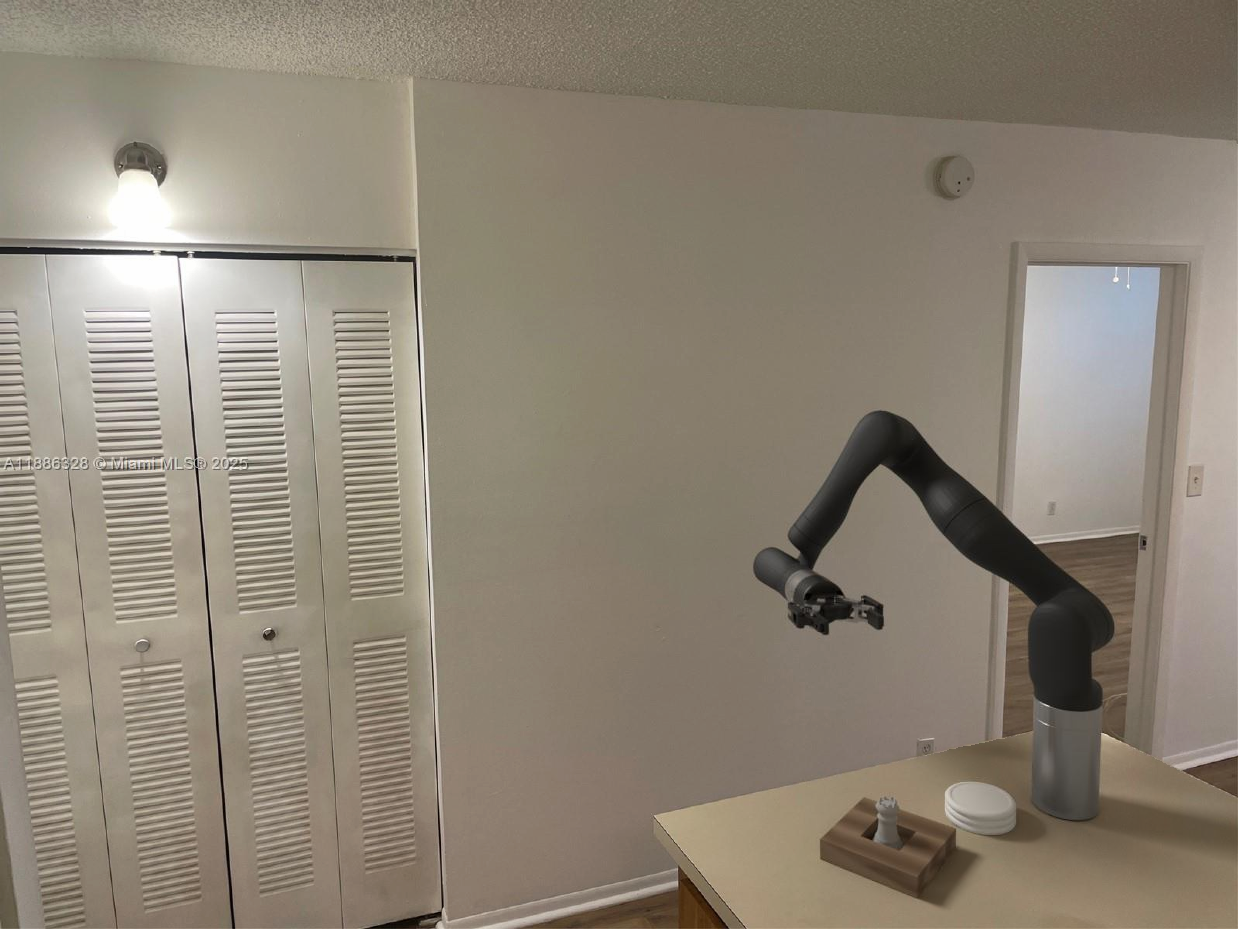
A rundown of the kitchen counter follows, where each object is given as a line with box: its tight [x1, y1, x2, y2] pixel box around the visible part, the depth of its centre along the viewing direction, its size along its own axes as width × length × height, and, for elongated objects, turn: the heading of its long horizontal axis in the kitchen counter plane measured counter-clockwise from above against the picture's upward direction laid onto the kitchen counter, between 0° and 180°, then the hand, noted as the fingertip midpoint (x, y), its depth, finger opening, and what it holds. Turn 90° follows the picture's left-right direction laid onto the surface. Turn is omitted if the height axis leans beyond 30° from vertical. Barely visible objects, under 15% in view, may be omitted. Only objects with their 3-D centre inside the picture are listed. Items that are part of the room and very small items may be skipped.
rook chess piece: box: [872, 795, 903, 851], centre depth 119 cm, size 4×4×8 cm
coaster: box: [944, 781, 1017, 836], centre depth 127 cm, size 10×10×4 cm
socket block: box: [819, 796, 957, 899], centre depth 119 cm, size 14×14×3 cm
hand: (853, 626), depth 126 cm, fingers open, 8 cm apart
